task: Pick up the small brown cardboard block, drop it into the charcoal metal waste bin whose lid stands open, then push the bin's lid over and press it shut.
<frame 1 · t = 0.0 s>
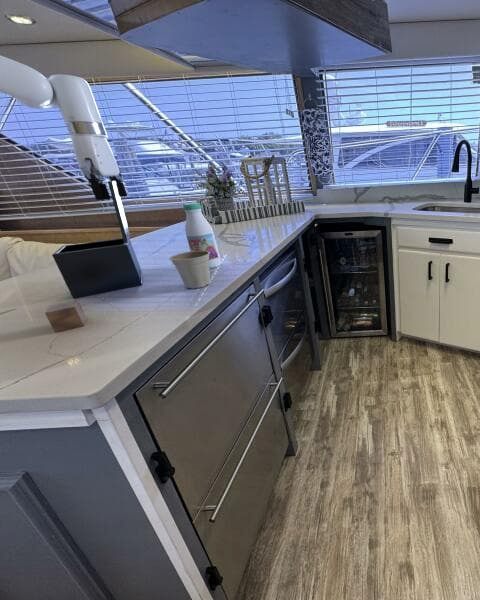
hand: (112, 198, 92), 23 cm above the worktop, tool pointing down, fingers open, 9 cm apart
bin: (111, 285, 92), on the worktop
bin lid: (119, 211, 88), point 20 cm above the worktop, hinge at 95.0°
flower pot: (199, 285, 89), on the worktop
block: (71, 325, 68), on the worktop
milk bottle: (209, 266, 107), on the worktop
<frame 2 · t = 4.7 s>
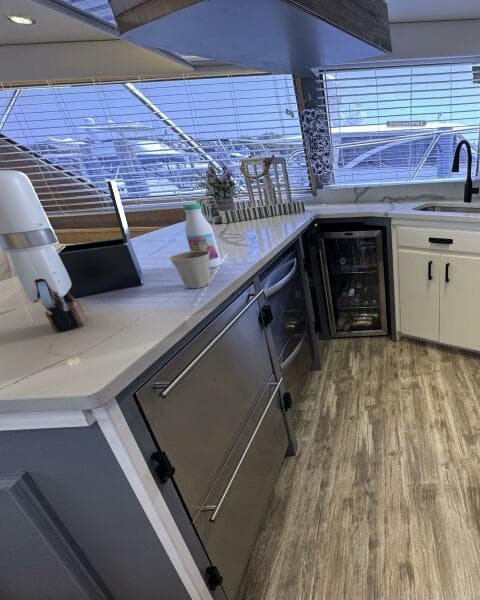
hand: (71, 323, 68), 0 cm above the worktop, tool pointing down, fingers closed on block, 4 cm apart
bin lid: (119, 211, 88), point 20 cm above the worktop, hinge at 94.4°
block: (71, 325, 68), on the worktop, touching gripper
everything else where it was.
when the fingers open (11 cm above the worktop, at t = 10.7 s): block drops 10 cm, resting on bin.
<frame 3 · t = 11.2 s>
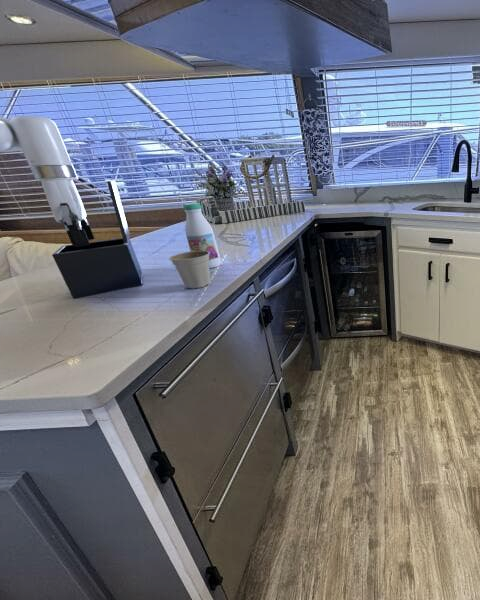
hand: (84, 242, 86), 13 cm above the worktop, tool pointing down, fingers open, 9 cm apart
block: (103, 284, 91), point 1 cm above the worktop, touching bin
everything else where it was.
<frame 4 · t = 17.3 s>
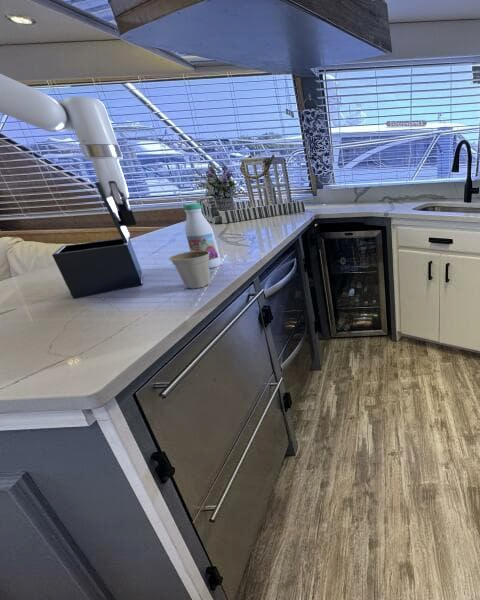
hand: (129, 225, 90), 16 cm above the worktop, tool pointing down, fingers closed
bin lid: (113, 211, 87), point 20 cm above the worktop, hinge at 85.4°, touching gripper
everything else where it was.
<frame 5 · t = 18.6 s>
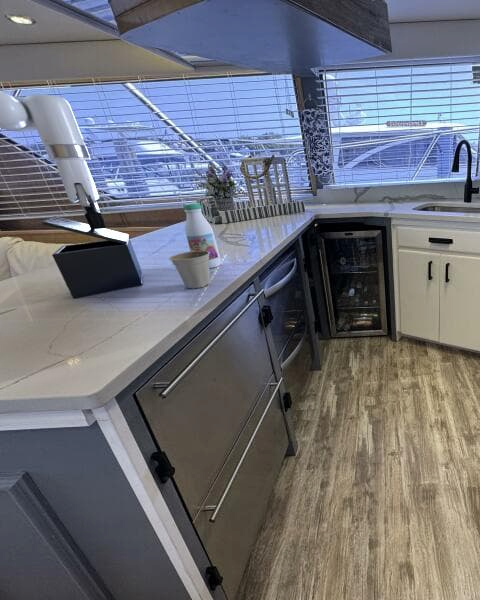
hand: (99, 228, 86), 16 cm above the worktop, tool pointing down, fingers closed
bin lid: (90, 230, 86), point 16 cm above the worktop, hinge at 27.4°
everything else where it was.
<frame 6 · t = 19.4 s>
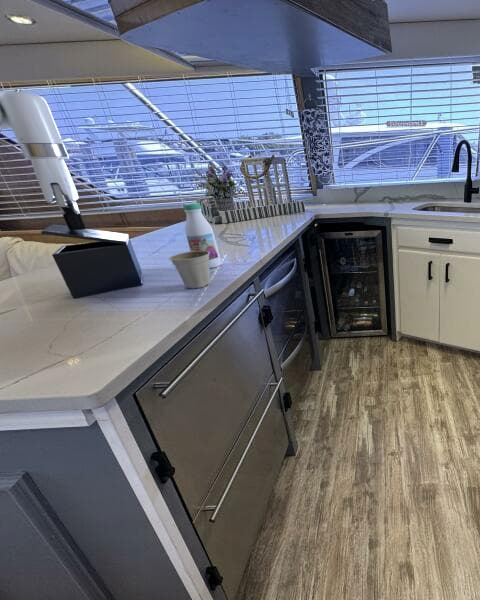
hand: (78, 229, 84), 16 cm above the worktop, tool pointing down, fingers closed
bin lid: (89, 234, 86), point 15 cm above the worktop, hinge at 19.0°
everything else where it was.
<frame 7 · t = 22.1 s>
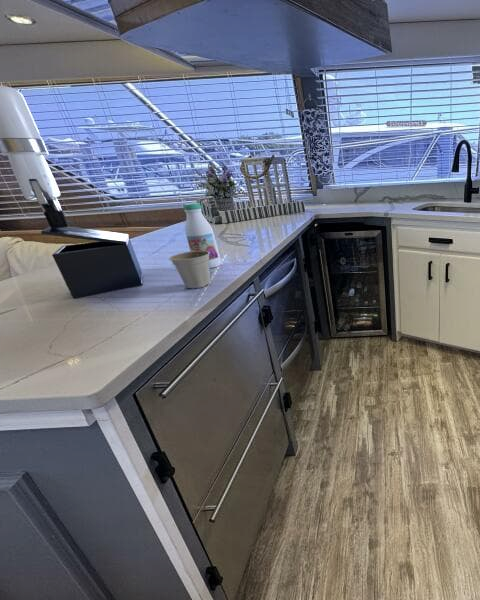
hand: (60, 227, 82), 17 cm above the worktop, tool pointing down, fingers closed
bin lid: (89, 234, 86), point 15 cm above the worktop, hinge at 18.9°, touching gripper
everything else where it was.
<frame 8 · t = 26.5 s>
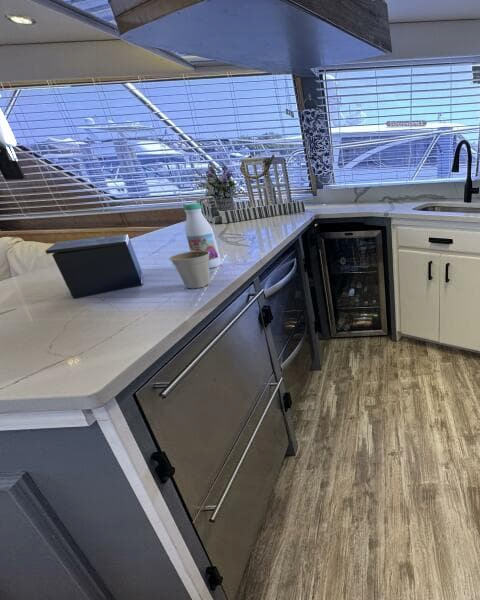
hand: (16, 179, 75), 29 cm above the worktop, tool pointing down, fingers closed
bin lid: (91, 243, 86), point 12 cm above the worktop, hinge at 1.1°
everything else where it was.
at the end: block inside the target area in the bin (1.5 cm from its centre), point 0.8 cm above the bin's base; bin lid at +1° (first picture: +95°) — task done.
